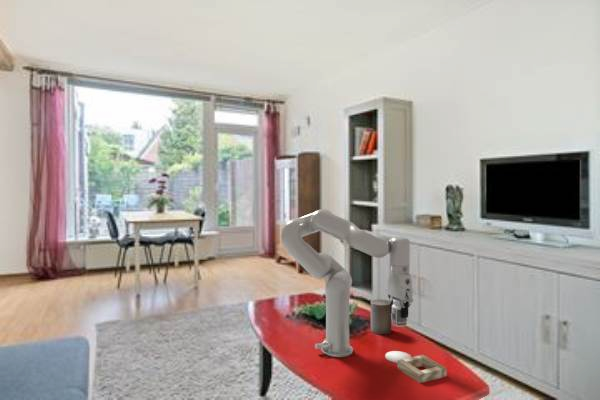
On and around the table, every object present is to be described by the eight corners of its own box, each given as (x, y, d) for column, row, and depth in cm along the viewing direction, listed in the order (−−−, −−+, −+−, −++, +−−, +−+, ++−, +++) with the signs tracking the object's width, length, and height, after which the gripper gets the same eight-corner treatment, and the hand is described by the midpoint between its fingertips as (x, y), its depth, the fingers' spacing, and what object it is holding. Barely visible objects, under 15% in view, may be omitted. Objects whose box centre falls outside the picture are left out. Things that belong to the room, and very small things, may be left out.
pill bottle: (408, 323, 150) (408, 299, 150) (404, 328, 146) (404, 302, 145) (394, 321, 153) (394, 296, 153) (389, 325, 149) (389, 300, 148)
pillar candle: (395, 330, 179) (395, 299, 179) (384, 336, 172) (384, 303, 172) (377, 326, 186) (377, 295, 186) (366, 331, 179) (366, 299, 179)
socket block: (419, 383, 130) (419, 374, 130) (397, 368, 141) (397, 360, 141) (446, 376, 135) (446, 368, 135) (422, 362, 146) (422, 354, 146)
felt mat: (396, 365, 143) (396, 363, 143) (380, 354, 152) (380, 353, 152) (417, 360, 147) (417, 359, 147) (400, 350, 156) (400, 349, 156)
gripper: (422, 272, 143) (421, 320, 143) (393, 264, 158) (393, 307, 159) (406, 274, 140) (405, 323, 140) (378, 265, 155) (378, 309, 156)
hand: (399, 314), depth 149 cm, fingers closed on pill bottle, 5 cm apart
